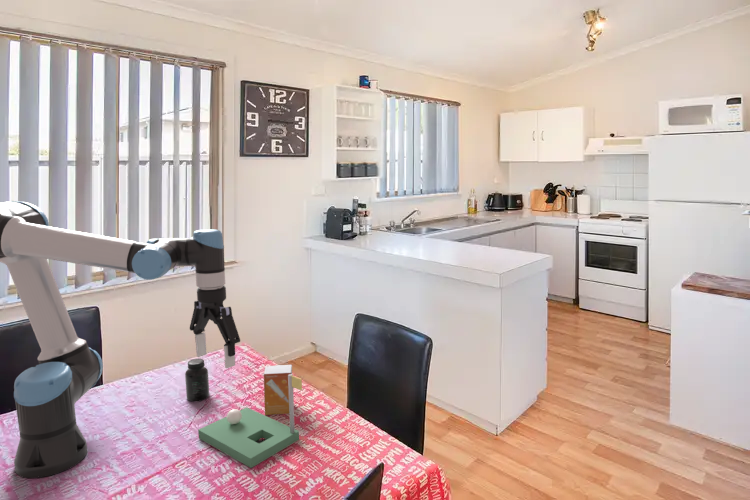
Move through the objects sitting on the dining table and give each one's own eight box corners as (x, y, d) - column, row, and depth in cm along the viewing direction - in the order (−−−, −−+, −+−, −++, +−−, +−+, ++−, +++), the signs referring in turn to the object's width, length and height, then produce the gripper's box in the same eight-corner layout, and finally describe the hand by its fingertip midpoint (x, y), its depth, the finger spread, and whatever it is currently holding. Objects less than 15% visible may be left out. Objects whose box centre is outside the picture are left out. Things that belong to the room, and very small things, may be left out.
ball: (223, 424, 135) (223, 410, 134) (236, 418, 138) (235, 405, 137) (232, 428, 132) (232, 414, 132) (245, 422, 136) (244, 409, 135)
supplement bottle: (187, 393, 159) (185, 358, 157) (209, 391, 161) (207, 356, 159) (186, 403, 152) (183, 366, 150) (209, 400, 154) (207, 363, 152)
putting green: (198, 438, 132) (194, 373, 129) (247, 415, 145) (244, 355, 142) (259, 472, 117) (255, 399, 114) (307, 443, 130) (305, 377, 127)
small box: (264, 415, 144) (263, 373, 142) (266, 405, 151) (264, 365, 149) (292, 414, 146) (291, 372, 144) (293, 404, 152) (292, 364, 150)
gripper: (251, 290, 129) (254, 367, 133) (197, 278, 144) (201, 347, 148) (227, 296, 123) (231, 376, 127) (173, 282, 138) (178, 354, 142)
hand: (215, 361), depth 137 cm, fingers open, 13 cm apart
